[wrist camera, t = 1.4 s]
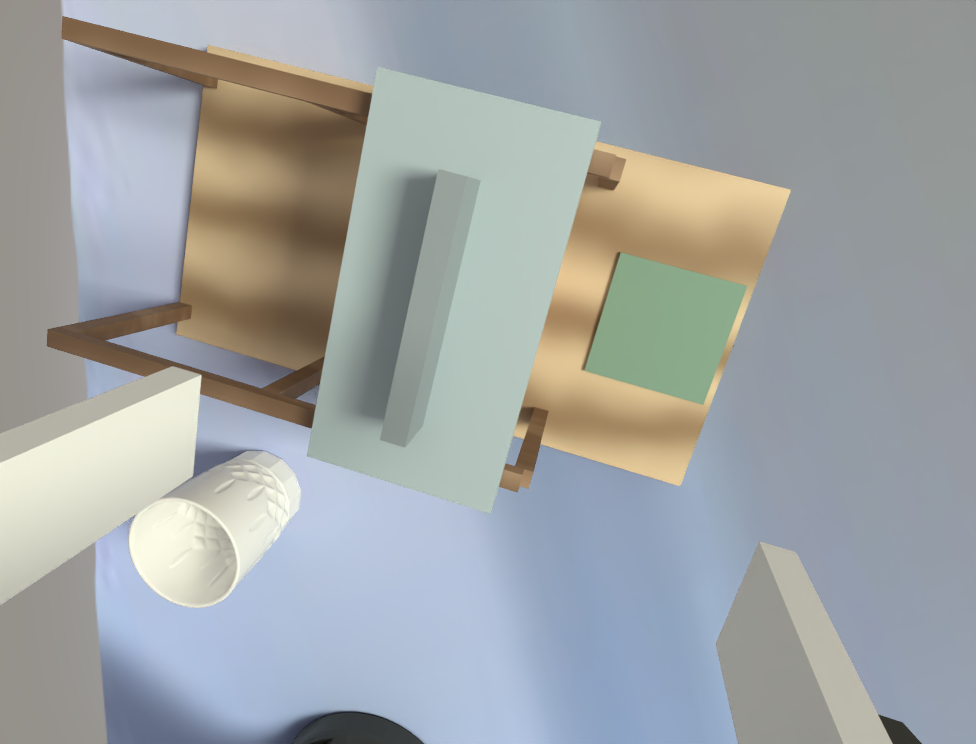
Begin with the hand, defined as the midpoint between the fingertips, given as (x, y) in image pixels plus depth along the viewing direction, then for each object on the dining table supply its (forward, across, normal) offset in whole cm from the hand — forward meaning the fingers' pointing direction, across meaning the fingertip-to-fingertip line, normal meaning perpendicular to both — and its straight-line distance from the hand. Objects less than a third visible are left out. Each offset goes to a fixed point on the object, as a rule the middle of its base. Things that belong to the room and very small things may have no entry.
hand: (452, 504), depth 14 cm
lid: (+17, +5, -1) cm, 17 cm away
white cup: (+28, +19, +21) cm, 40 cm away
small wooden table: (+29, +8, 0) cm, 30 cm away
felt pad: (+28, -7, 0) cm, 29 cm away
